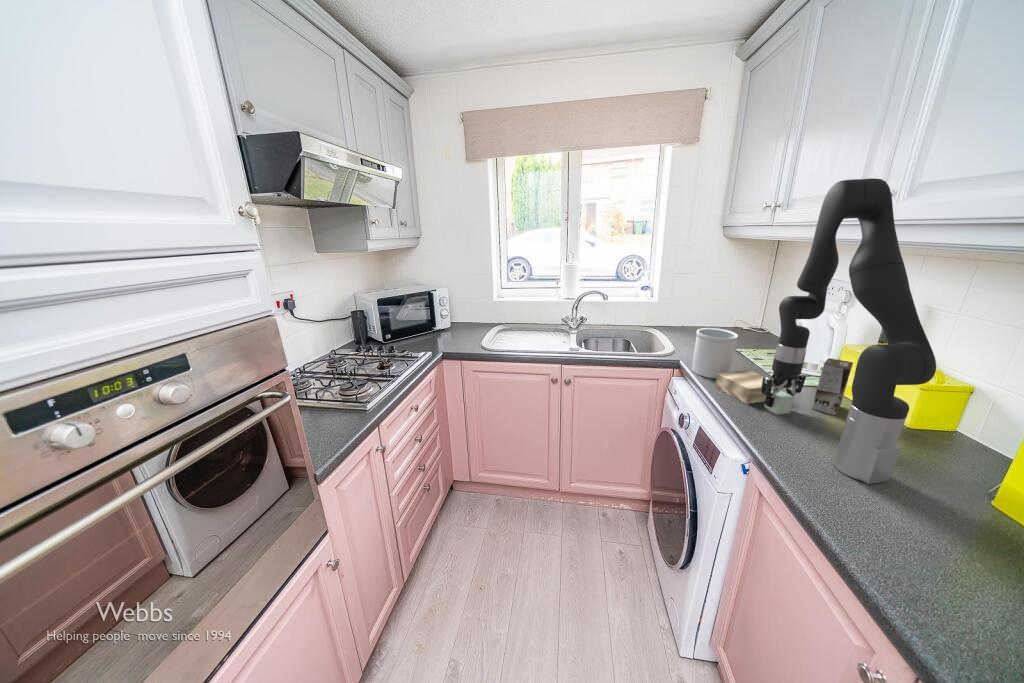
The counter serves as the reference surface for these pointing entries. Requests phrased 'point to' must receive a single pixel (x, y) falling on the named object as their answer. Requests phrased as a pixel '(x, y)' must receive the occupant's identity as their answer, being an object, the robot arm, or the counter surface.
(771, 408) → the sage block
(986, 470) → the counter surface
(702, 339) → the utensil holder
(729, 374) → the birch block
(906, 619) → the counter surface
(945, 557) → the counter surface
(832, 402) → the coffee box
